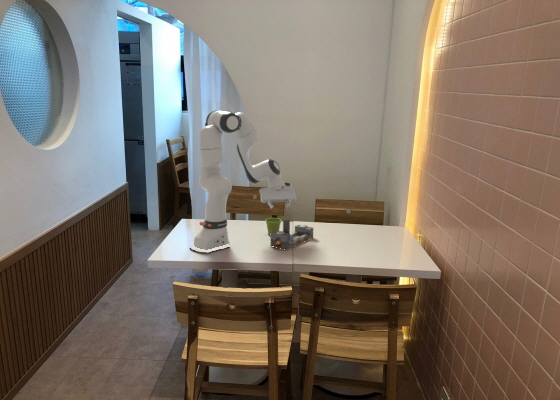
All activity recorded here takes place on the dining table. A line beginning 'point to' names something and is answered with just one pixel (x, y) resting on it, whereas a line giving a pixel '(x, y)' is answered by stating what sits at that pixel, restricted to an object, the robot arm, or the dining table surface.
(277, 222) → the plant pot
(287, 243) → the grey long blocky piece
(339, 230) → the dining table surface
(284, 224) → the carriage
